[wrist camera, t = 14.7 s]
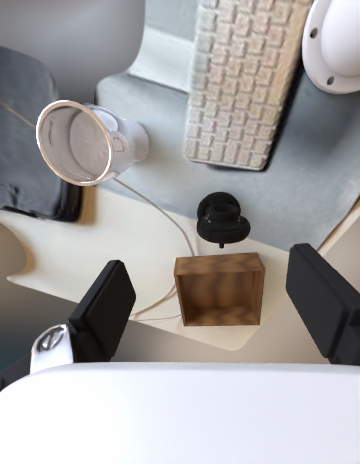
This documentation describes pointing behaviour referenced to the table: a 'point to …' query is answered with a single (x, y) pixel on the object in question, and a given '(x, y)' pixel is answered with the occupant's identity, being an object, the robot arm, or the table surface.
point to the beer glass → (89, 142)
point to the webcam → (221, 220)
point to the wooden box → (220, 289)
